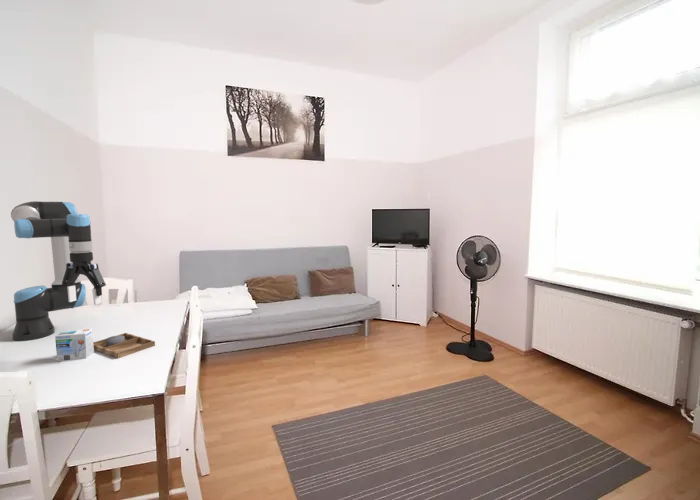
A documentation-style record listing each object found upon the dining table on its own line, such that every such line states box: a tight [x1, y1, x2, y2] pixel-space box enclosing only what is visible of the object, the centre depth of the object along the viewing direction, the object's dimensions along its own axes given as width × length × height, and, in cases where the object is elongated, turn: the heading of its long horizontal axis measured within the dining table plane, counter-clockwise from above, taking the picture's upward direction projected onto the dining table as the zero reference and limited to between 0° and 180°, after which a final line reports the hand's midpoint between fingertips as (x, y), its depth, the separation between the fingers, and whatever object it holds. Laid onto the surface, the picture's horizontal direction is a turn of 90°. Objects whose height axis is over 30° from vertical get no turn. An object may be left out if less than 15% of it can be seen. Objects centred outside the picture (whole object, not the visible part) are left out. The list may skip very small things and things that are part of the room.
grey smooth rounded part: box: [105, 334, 125, 347], centre depth 156 cm, size 7×7×3 cm
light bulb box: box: [54, 328, 95, 362], centre depth 143 cm, size 11×7×11 cm, turn 105°
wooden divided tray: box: [93, 332, 156, 359], centre depth 153 cm, size 22×16×2 cm
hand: (85, 302), depth 144 cm, fingers open, 13 cm apart
